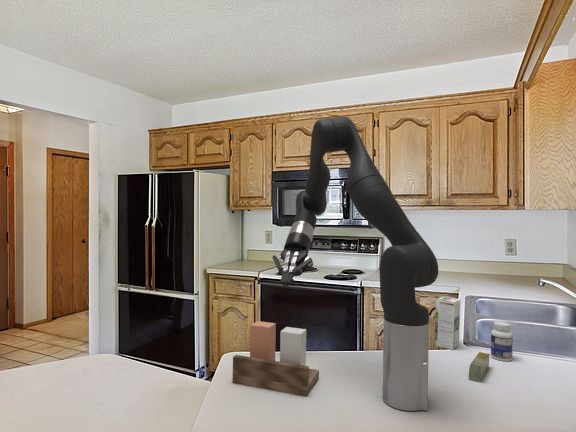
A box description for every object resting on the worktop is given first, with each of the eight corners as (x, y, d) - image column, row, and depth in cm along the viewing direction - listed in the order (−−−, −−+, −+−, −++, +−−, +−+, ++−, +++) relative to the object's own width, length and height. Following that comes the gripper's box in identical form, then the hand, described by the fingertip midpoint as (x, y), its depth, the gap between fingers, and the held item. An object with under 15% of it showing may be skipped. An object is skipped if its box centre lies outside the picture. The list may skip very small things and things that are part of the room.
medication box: (480, 383, 93) (481, 367, 93) (468, 380, 94) (469, 364, 94) (489, 368, 102) (489, 353, 102) (477, 365, 104) (478, 350, 104)
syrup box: (440, 341, 123) (441, 295, 123) (459, 345, 119) (460, 298, 119) (433, 346, 118) (434, 298, 118) (454, 350, 115) (455, 301, 115)
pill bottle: (492, 353, 113) (492, 319, 113) (513, 357, 110) (514, 323, 110) (489, 358, 109) (489, 323, 109) (511, 363, 105) (511, 327, 105)
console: (318, 378, 93) (319, 353, 93) (306, 396, 84) (306, 368, 84) (251, 367, 100) (251, 343, 100) (232, 382, 90) (232, 356, 90)
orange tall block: (275, 363, 96) (275, 323, 96) (268, 369, 92) (269, 327, 92) (256, 360, 98) (257, 321, 98) (249, 366, 94) (250, 325, 94)
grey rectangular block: (305, 371, 92) (306, 329, 92) (300, 378, 88) (301, 334, 88) (285, 368, 93) (286, 326, 93) (279, 374, 89) (280, 331, 89)
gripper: (276, 230, 120) (259, 275, 109) (317, 231, 115) (304, 278, 104) (282, 246, 125) (266, 290, 114) (322, 248, 120) (310, 294, 109)
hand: (284, 285), depth 109 cm, fingers closed
